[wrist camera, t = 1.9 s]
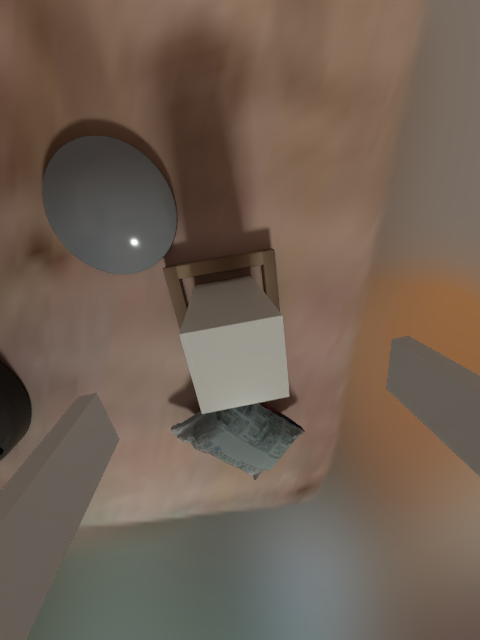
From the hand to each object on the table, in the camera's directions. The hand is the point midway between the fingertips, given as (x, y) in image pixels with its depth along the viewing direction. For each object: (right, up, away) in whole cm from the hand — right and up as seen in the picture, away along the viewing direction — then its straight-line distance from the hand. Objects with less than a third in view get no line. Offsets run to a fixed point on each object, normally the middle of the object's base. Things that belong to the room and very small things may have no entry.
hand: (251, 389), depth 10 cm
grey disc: (-10, +11, +7) cm, 17 cm away
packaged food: (-1, -8, +16) cm, 18 cm away
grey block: (-2, +4, +11) cm, 12 cm away
